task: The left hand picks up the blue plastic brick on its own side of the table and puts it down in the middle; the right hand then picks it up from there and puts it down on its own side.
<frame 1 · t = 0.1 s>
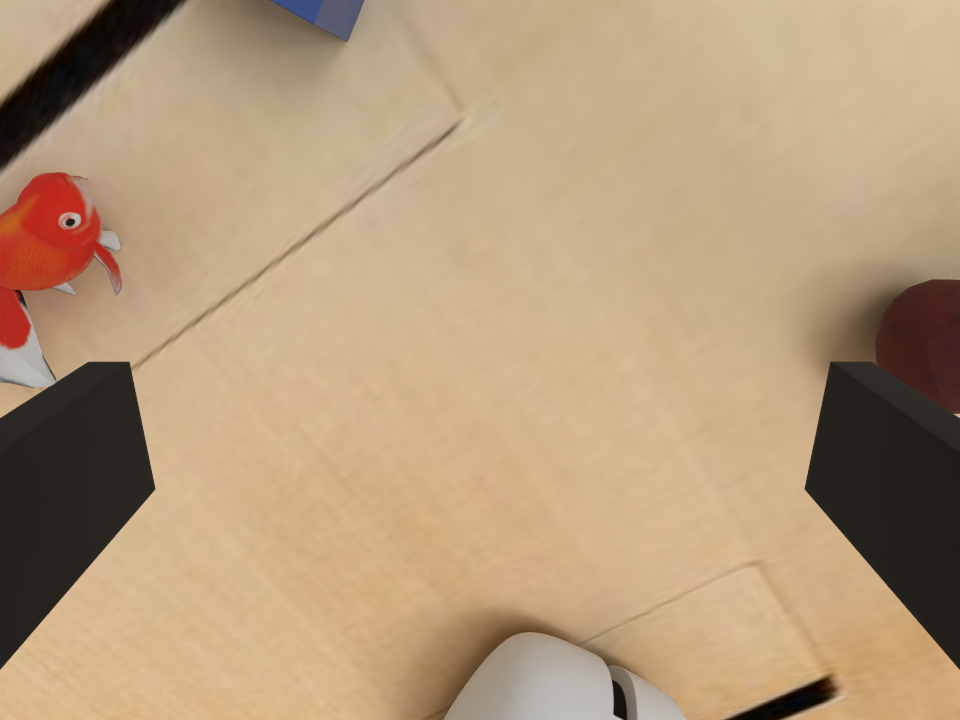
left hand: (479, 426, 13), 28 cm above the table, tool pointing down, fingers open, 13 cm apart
fish: (63, 270, 40), on the table
dark maroon ball: (908, 324, 41), on the table
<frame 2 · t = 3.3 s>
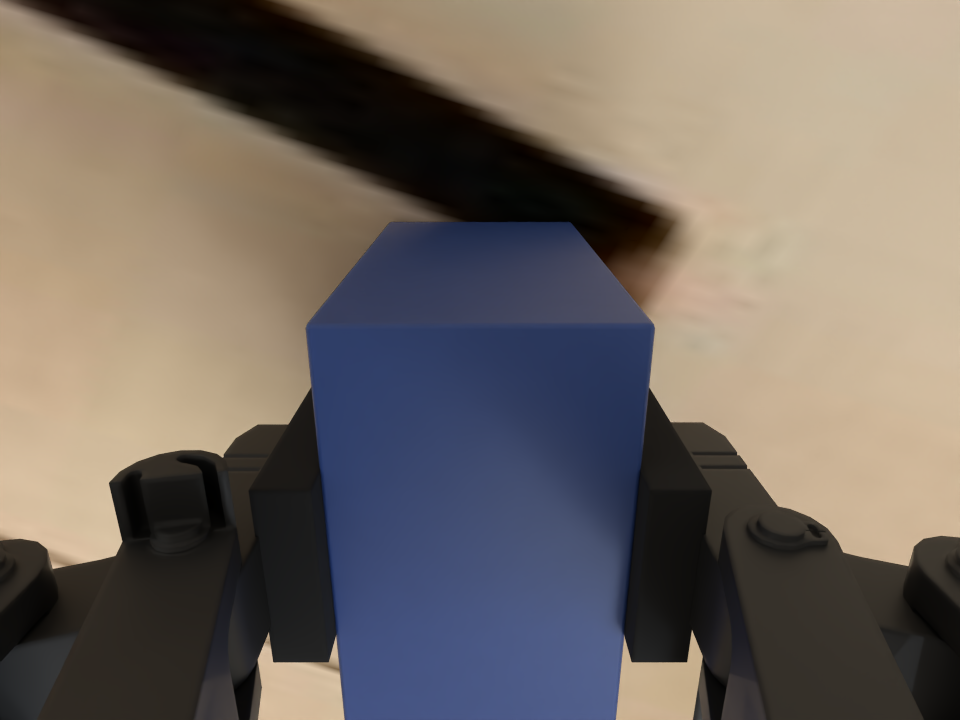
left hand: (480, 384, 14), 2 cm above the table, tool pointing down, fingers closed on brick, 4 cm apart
brick: (480, 358, 16), on the table, touching left hand
when the left hand's fingers open (4 cm above the table, at t = 9.4 s): brick drops 2 cm, on the table.
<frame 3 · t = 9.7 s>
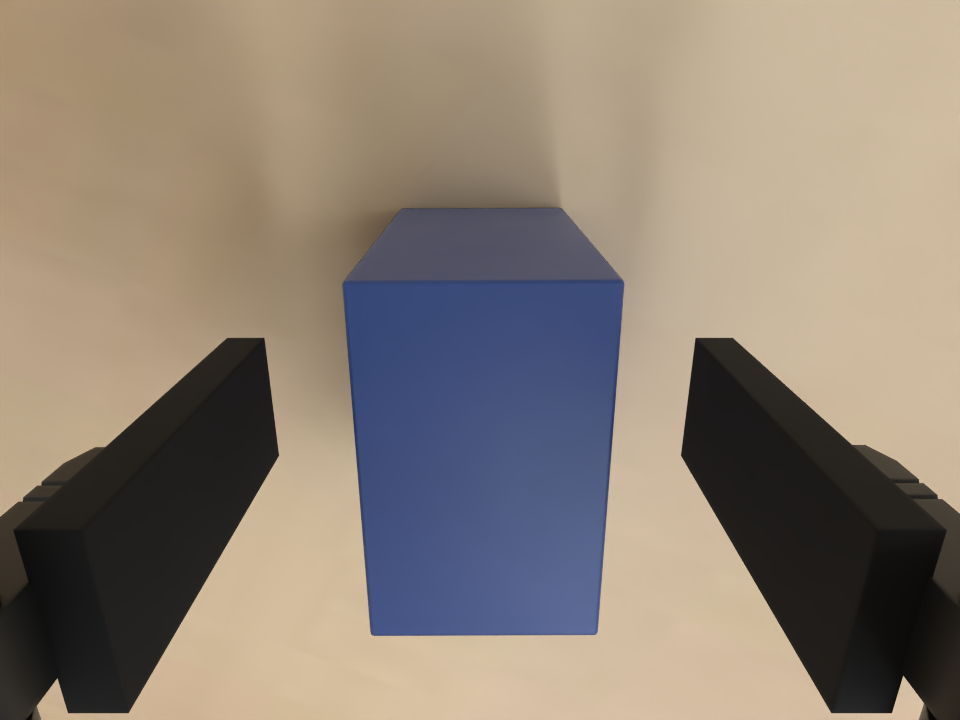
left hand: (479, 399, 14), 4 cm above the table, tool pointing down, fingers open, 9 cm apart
brick: (481, 331, 18), on the table
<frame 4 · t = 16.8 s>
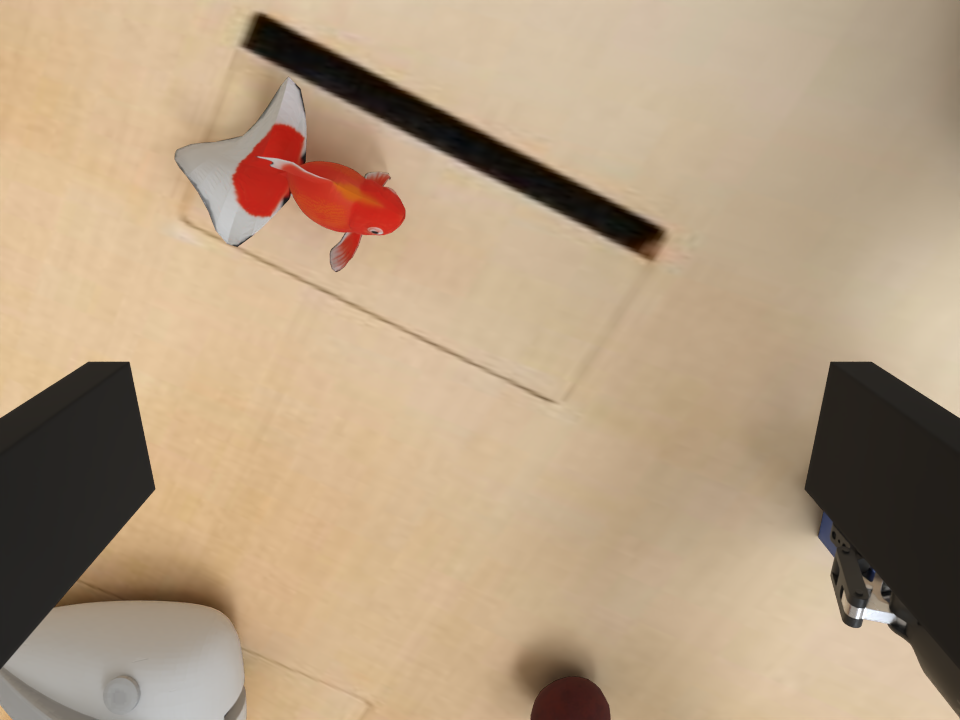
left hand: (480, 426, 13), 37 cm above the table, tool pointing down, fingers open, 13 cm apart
fish: (304, 178, 47), on the table
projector: (136, 651, 62), on the table
dark maroon ball: (566, 687, 64), on the table
brick: (848, 504, 56), on the table, touching right hand
when the right hand's fingers open (5 cm above the table, at t = 27.2 s): brick drops 2 cm, on the table.
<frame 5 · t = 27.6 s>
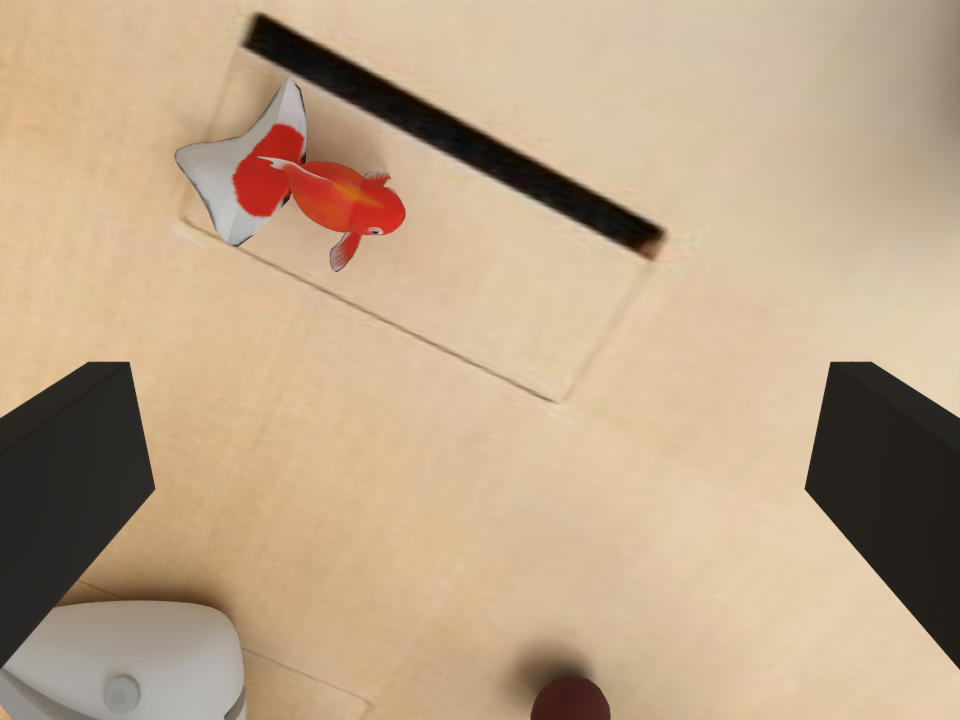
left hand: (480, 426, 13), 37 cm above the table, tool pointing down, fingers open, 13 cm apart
fish: (304, 178, 47), on the table
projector: (136, 651, 62), on the table
dark maroon ball: (566, 687, 64), on the table
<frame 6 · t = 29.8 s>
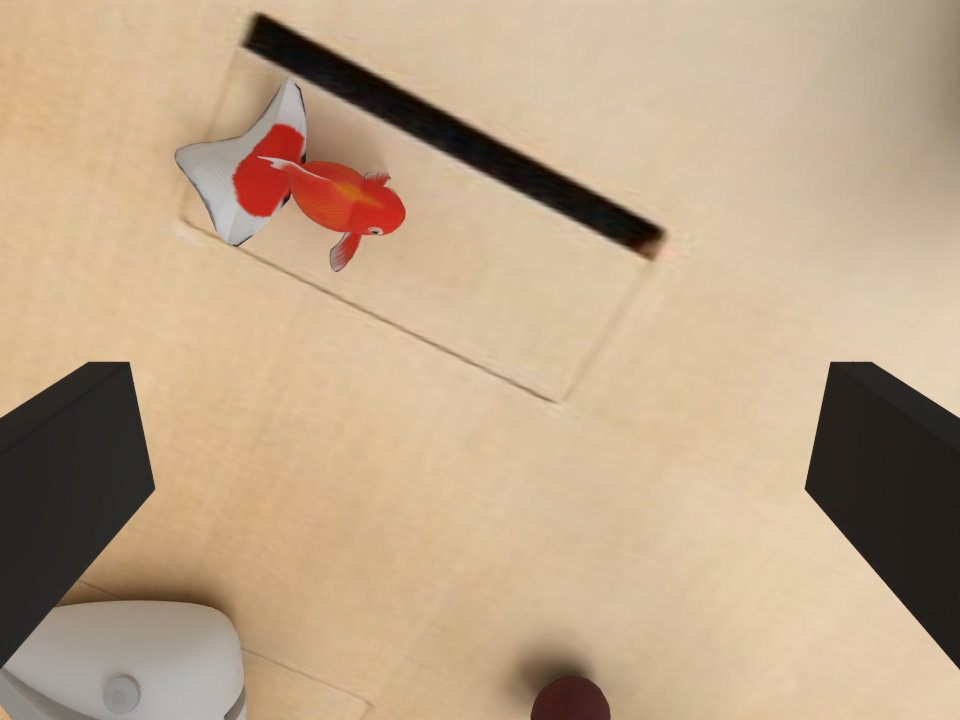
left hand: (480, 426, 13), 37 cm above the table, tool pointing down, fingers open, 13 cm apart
fish: (304, 178, 47), on the table
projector: (136, 651, 62), on the table
dark maroon ball: (566, 687, 64), on the table
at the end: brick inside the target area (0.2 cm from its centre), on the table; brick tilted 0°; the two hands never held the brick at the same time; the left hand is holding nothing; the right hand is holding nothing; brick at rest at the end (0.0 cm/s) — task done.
